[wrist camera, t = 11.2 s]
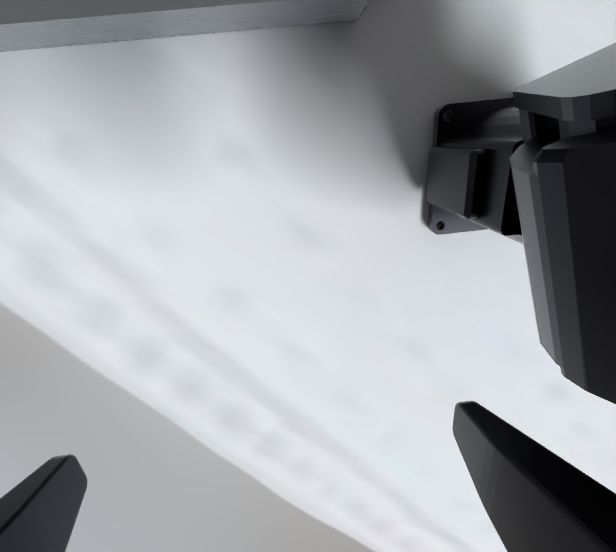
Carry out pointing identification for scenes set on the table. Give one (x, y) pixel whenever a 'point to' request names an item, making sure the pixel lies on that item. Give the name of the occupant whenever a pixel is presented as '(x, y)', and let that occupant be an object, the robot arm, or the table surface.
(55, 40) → the plate
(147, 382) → the table surface
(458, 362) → the table surface
